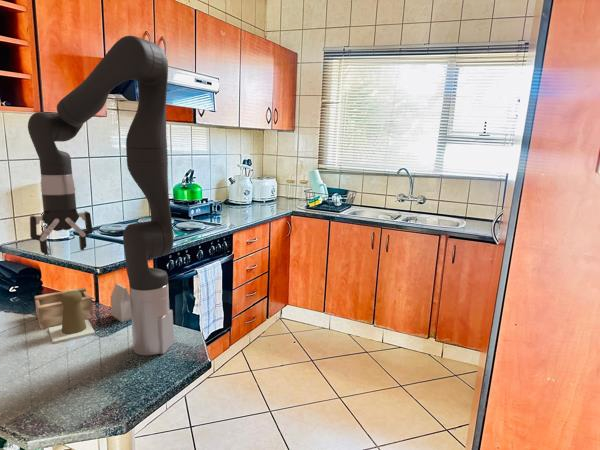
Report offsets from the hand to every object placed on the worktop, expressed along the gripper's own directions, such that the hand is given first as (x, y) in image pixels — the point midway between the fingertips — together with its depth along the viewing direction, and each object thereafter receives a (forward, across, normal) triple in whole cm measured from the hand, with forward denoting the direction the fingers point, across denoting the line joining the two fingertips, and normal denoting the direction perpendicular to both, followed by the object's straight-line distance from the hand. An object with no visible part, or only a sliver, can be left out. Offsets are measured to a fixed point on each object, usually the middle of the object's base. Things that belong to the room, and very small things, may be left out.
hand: (64, 252), depth 110 cm
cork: (+23, -1, 0) cm, 23 cm away
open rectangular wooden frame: (+23, 0, -13) cm, 26 cm away
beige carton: (+23, -14, -3) cm, 27 cm away
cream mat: (+23, 0, 0) cm, 23 cm away
